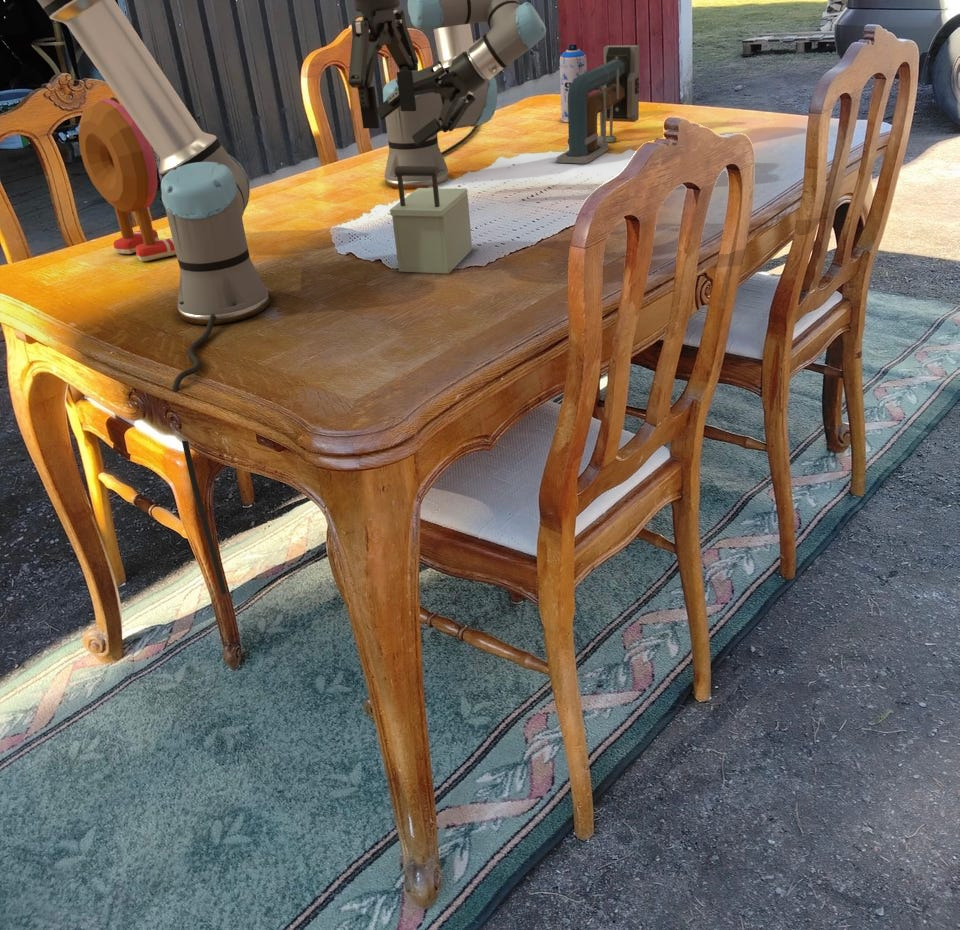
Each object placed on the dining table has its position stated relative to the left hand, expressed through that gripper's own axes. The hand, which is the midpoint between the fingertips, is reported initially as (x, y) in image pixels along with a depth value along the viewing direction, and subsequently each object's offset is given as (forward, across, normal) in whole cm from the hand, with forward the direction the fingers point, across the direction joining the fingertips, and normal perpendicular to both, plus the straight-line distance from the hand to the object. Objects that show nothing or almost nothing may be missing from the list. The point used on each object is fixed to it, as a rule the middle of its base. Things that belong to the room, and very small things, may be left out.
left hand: (390, 119), depth 167 cm
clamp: (+26, -91, +8) cm, 95 cm away
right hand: (+9, -34, -18) cm, 40 cm away
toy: (+26, +6, -57) cm, 63 cm away
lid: (+15, -2, +5) cm, 16 cm away
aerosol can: (+26, -122, -9) cm, 125 cm away
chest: (+26, -2, +5) cm, 26 cm away
